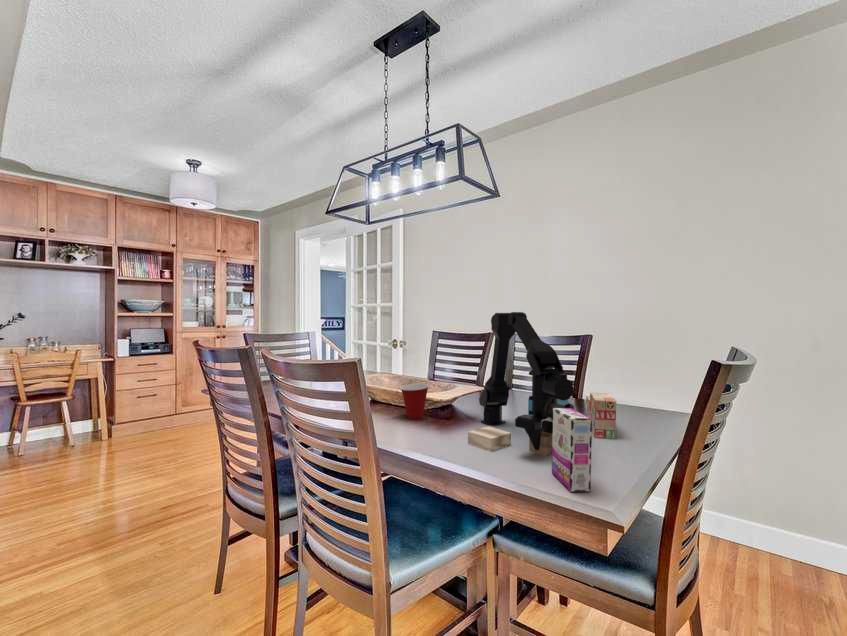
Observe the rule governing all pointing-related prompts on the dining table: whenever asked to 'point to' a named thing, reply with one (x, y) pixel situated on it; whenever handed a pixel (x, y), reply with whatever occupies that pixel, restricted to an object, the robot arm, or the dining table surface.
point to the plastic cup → (414, 399)
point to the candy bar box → (572, 449)
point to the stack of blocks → (602, 414)
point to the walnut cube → (543, 444)
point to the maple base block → (489, 438)
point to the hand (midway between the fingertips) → (541, 447)
